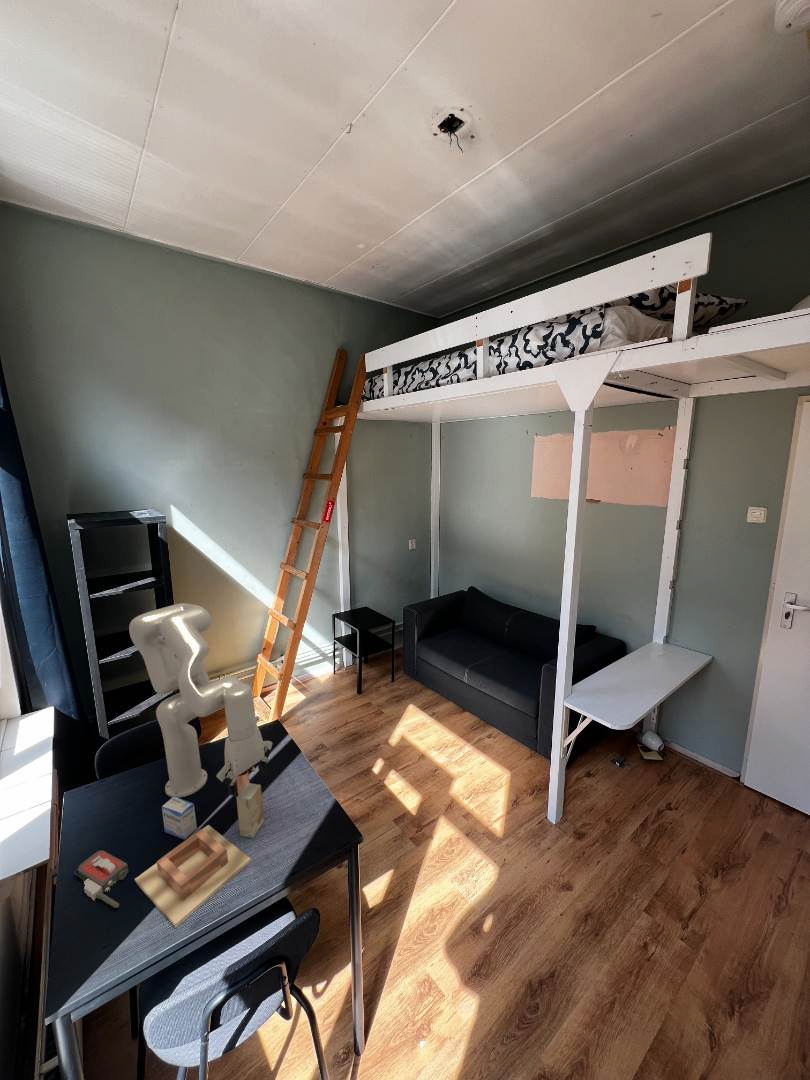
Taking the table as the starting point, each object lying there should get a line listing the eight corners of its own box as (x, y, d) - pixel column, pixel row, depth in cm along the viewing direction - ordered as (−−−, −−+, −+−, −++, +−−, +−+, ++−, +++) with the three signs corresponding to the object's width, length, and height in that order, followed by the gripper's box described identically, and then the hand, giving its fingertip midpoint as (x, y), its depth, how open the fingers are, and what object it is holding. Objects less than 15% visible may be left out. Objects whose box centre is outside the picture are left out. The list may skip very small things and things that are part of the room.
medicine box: (164, 832, 125) (160, 806, 124) (177, 821, 129) (174, 795, 128) (184, 840, 122) (181, 814, 121) (197, 828, 126) (194, 802, 125)
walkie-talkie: (65, 883, 111) (114, 915, 103) (62, 869, 110) (111, 900, 102) (101, 855, 119) (149, 883, 110) (99, 841, 118) (147, 868, 110)
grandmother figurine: (235, 799, 137) (231, 763, 135) (231, 793, 140) (227, 757, 137) (258, 787, 142) (255, 752, 140) (254, 781, 145) (250, 747, 142)
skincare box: (253, 838, 122) (249, 800, 120) (239, 836, 123) (235, 798, 121) (265, 820, 128) (261, 783, 126) (251, 818, 129) (247, 782, 127)
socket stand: (135, 882, 110) (132, 865, 109) (208, 827, 126) (206, 812, 125) (175, 928, 99) (173, 909, 98) (250, 861, 115) (249, 845, 114)
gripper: (260, 710, 129) (266, 762, 132) (205, 741, 115) (213, 798, 118) (276, 717, 125) (282, 771, 128) (221, 750, 111) (229, 809, 114)
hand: (249, 784), depth 123 cm, fingers open, 9 cm apart
